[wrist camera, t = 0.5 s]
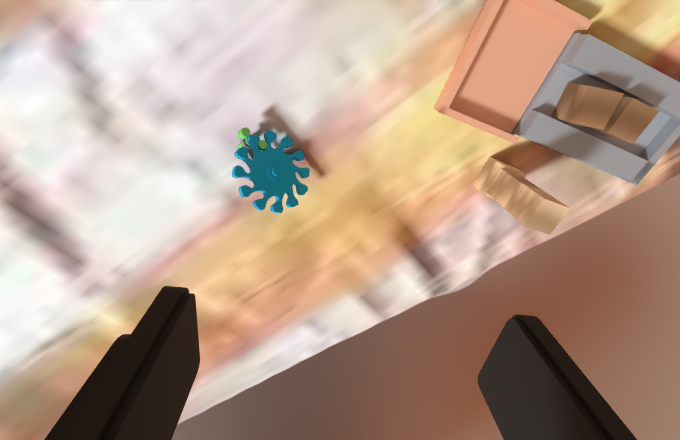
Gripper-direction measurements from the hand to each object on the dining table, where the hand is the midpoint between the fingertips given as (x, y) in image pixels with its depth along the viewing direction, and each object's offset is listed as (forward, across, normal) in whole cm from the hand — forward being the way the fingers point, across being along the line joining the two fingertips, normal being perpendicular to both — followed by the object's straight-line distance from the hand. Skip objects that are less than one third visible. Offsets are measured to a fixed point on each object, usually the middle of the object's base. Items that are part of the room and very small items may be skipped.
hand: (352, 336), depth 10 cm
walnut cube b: (+33, -30, -6) cm, 45 cm away
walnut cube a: (+33, -34, -6) cm, 48 cm away
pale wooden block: (+34, -24, +4) cm, 42 cm away
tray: (+34, -20, -9) cm, 40 cm away
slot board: (+34, -34, -6) cm, 49 cm away
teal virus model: (+35, +6, +6) cm, 36 cm away
